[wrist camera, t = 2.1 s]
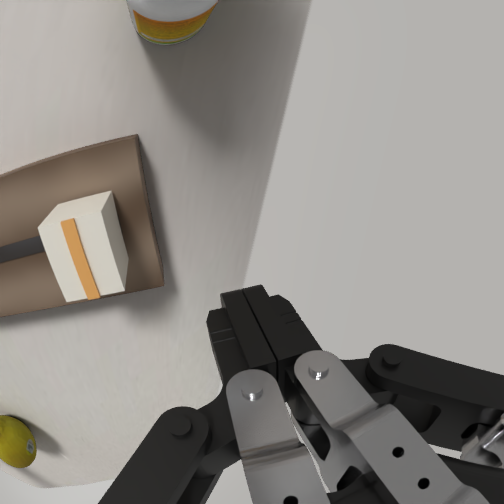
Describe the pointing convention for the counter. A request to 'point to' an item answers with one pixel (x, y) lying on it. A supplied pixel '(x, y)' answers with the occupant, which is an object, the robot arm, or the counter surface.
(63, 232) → the block
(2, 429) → the lemon
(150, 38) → the supplement bottle
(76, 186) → the brown flat piece
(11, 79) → the counter surface
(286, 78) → the counter surface
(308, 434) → the robot arm
